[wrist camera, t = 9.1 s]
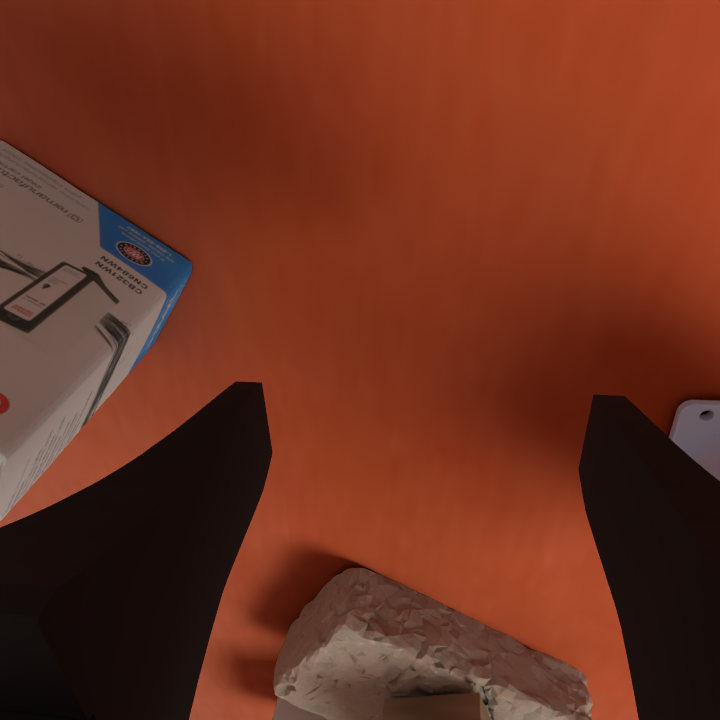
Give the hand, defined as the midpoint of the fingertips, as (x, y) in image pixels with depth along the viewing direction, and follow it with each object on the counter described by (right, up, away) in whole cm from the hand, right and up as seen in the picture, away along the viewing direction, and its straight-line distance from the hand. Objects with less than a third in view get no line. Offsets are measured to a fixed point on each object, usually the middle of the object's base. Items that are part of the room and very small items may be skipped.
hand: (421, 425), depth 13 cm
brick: (+3, -15, +22) cm, 27 cm away
